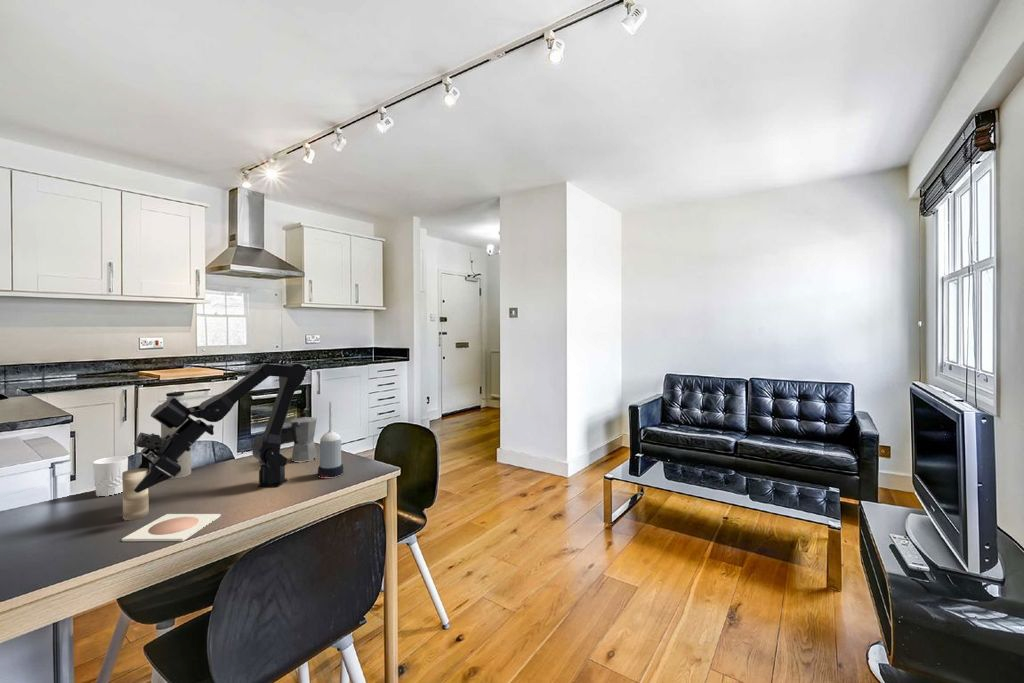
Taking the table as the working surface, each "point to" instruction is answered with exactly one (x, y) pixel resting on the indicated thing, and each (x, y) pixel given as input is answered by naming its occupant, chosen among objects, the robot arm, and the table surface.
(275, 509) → the table surface
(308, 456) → the coffeepot
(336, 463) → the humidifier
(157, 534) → the card
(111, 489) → the white cup
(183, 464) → the thermos bottle
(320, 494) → the table surface
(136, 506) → the wooden tube
